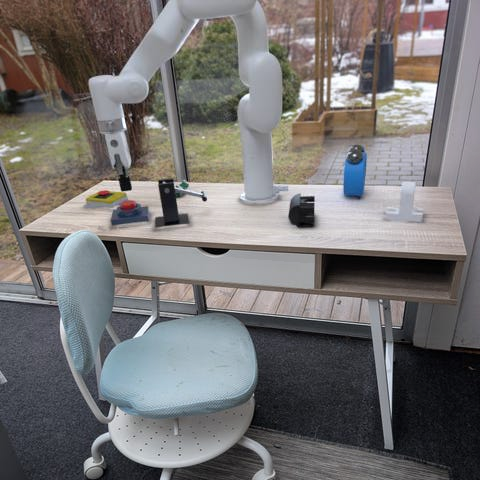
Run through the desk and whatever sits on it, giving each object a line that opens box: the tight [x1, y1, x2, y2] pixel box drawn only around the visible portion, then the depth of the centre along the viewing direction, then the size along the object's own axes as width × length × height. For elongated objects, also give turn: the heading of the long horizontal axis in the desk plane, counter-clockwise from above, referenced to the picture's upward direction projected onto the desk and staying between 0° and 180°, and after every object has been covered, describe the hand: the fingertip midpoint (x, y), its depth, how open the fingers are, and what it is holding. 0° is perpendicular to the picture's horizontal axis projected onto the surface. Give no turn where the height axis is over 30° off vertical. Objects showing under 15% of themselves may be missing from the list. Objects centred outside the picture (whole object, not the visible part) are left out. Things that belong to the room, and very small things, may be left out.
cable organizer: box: [384, 181, 425, 223], centre depth 131 cm, size 5×10×10 cm, turn 70°
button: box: [121, 199, 137, 210], centre depth 144 cm, size 4×4×2 cm
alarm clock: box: [342, 143, 368, 200], centre depth 148 cm, size 13×6×15 cm, turn 164°
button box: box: [110, 202, 150, 226], centre depth 146 cm, size 11×9×4 cm
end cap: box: [288, 192, 316, 229], centre depth 135 cm, size 10×7×7 cm
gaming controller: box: [175, 179, 190, 197], centre depth 164 cm, size 9×4×6 cm
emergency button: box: [83, 189, 129, 210], centre depth 160 cm, size 9×4×15 cm
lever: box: [163, 182, 208, 203], centre depth 138 cm, size 13×6×2 cm, turn 98°
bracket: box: [154, 177, 190, 228], centre depth 139 cm, size 10×8×13 cm
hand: (126, 190), depth 142 cm, fingers closed
